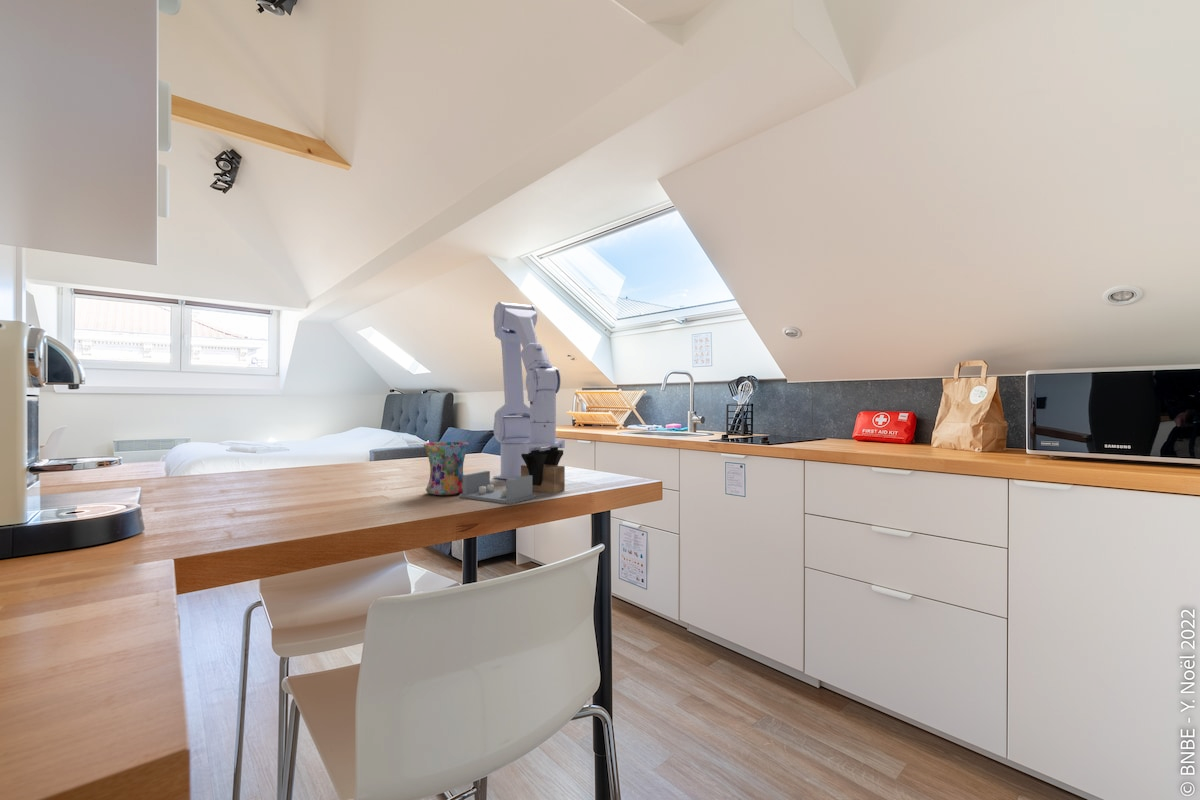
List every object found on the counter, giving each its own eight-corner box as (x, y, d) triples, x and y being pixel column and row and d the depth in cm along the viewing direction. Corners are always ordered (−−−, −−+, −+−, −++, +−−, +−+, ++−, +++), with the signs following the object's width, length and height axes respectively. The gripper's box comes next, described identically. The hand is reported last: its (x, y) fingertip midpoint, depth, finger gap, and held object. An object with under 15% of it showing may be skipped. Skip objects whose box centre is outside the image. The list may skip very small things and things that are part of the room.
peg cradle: (486, 490, 113) (486, 470, 113) (535, 497, 106) (535, 475, 106) (459, 497, 106) (459, 475, 106) (510, 504, 99) (510, 480, 99)
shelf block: (531, 487, 118) (531, 463, 118) (564, 490, 114) (564, 466, 114) (520, 489, 115) (521, 465, 115) (554, 493, 110) (554, 468, 110)
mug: (463, 497, 106) (463, 445, 105) (417, 497, 105) (417, 445, 105) (475, 487, 118) (475, 440, 117) (434, 487, 117) (434, 440, 117)
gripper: (537, 424, 106) (537, 490, 106) (575, 421, 118) (575, 480, 118) (510, 423, 109) (510, 487, 109) (550, 420, 122) (550, 477, 122)
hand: (542, 483), depth 114 cm, fingers closed on shelf block, 4 cm apart
